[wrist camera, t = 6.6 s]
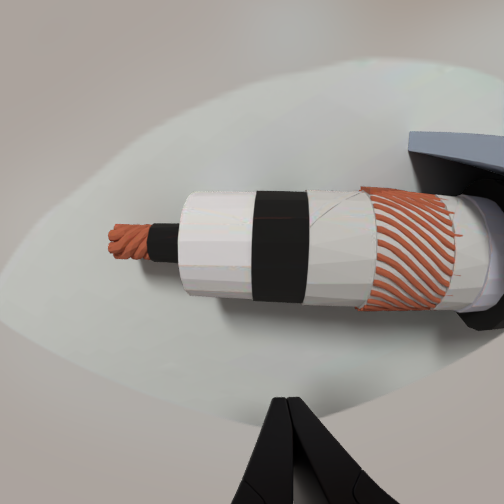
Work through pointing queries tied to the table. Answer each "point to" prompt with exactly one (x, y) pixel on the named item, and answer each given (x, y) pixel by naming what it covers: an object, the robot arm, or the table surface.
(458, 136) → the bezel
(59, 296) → the table surface
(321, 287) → the cable
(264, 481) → the robot arm
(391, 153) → the table surface
